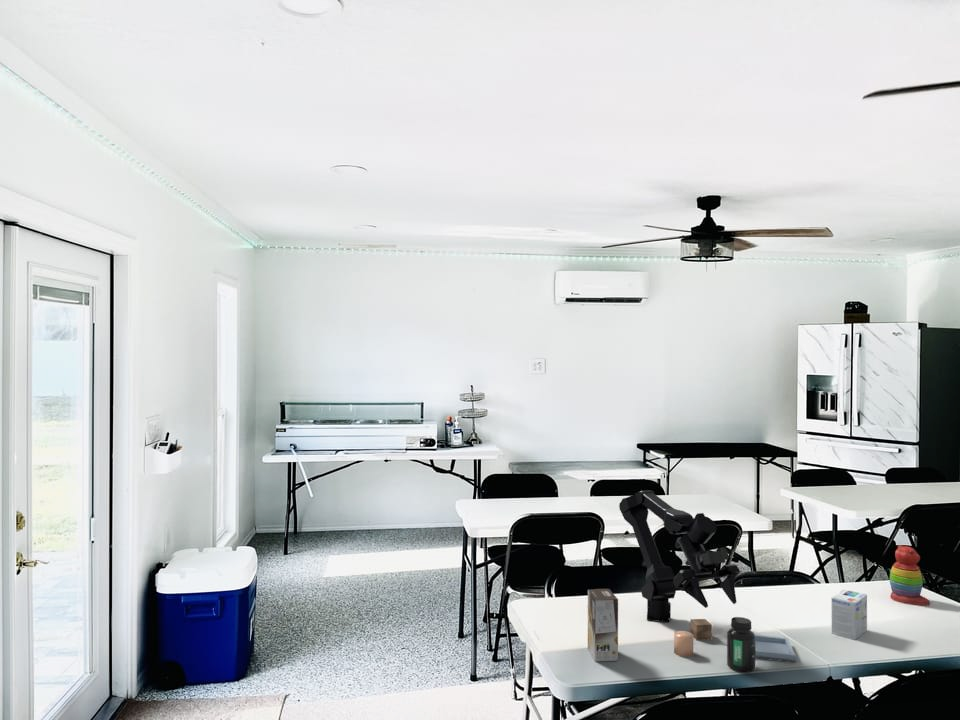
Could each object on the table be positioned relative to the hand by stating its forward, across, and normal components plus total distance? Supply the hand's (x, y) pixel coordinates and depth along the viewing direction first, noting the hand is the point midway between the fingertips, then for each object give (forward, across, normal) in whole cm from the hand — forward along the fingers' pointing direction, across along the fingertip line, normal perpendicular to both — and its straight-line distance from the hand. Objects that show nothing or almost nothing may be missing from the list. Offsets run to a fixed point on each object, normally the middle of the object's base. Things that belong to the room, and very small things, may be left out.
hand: (721, 605), depth 183 cm
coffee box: (+2, -30, +17) cm, 34 cm away
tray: (+11, +14, +8) cm, 19 cm away
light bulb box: (+9, +46, +10) cm, 48 cm away
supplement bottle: (+15, 0, +4) cm, 16 cm away
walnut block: (+1, +3, +18) cm, 18 cm away
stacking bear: (-2, +89, +21) cm, 92 cm away
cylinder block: (+6, -9, +13) cm, 17 cm away
